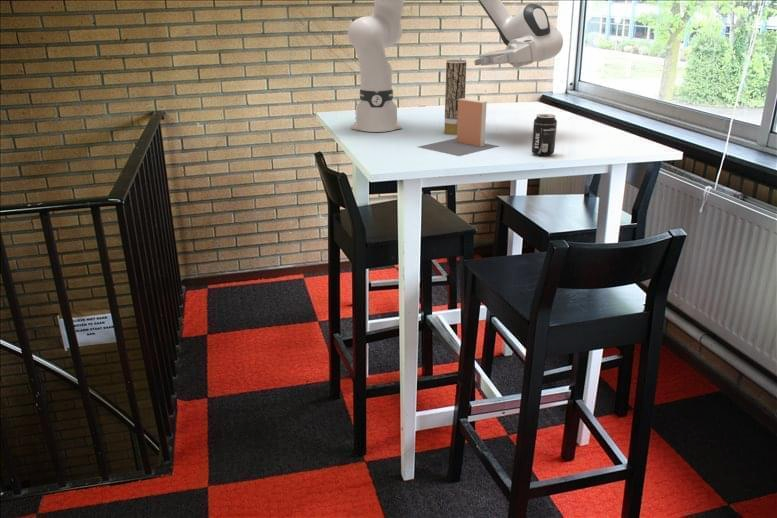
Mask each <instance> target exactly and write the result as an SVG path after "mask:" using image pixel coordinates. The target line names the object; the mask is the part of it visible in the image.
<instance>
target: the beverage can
mask: <svg viewBox="0 0 777 518" xmlns="http://www.w3.org/2000/svg"><path fill="white" fill-rule="evenodd" d="M557 126H558V121H557V119H556V115H555V114H551V113H538V114H536V118H534V121H533V125H532V127H533V128H532V139H531V140H532V141H531V153H532V154H533V155H534V156H536V155H538V157H550V156H551V155H553V154H554V153H555V147H556V146H555V145H556V137H557V136H556V135H557Z"/></svg>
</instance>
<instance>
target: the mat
mask: <svg viewBox="0 0 777 518" xmlns="http://www.w3.org/2000/svg"><path fill="white" fill-rule="evenodd" d="M499 147H500V145H495V144H491V143H486V142H485V143H484V146H481V147H480V146H475V145H470V144H465V143H460V142H457V137H456V138H450V139H447V140H443V141H437V142H433V143H429V144H428V143H427V144H423V145H419V146H417V148H418V149H419V148H420V149H425V150H429V151H434V152H438V153H443V154H447V155H451V156H456V157H462V156H465V155H470V154H474V153H479V152H481V151H486V150H490V149H494V148H499Z"/></svg>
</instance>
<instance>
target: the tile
mask: <svg viewBox="0 0 777 518" xmlns="http://www.w3.org/2000/svg"><path fill="white" fill-rule="evenodd" d="M486 118H487V101H484V100H476V99H470V98H465V99H464V98H461V99H458V121H457V135H456V138H457V142H460V143H465V144H470V145H475V146H480V147H481V146H484V143H486V142H485V141H486V124H487V123H486V122H487V119H486Z"/></svg>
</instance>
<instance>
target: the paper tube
mask: <svg viewBox="0 0 777 518" xmlns="http://www.w3.org/2000/svg"><path fill="white" fill-rule="evenodd" d="M445 65H446V66H445V69H446V71H445V91H444V92H445V93H444V94H445V96H444V97H445V99H444V127H443V128H444V129H443V130H444V134H445V135H449V136H450V135H452V136H457V121H458V99H461V98H464V99H466V80H467V59H446V64H445Z"/></svg>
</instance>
